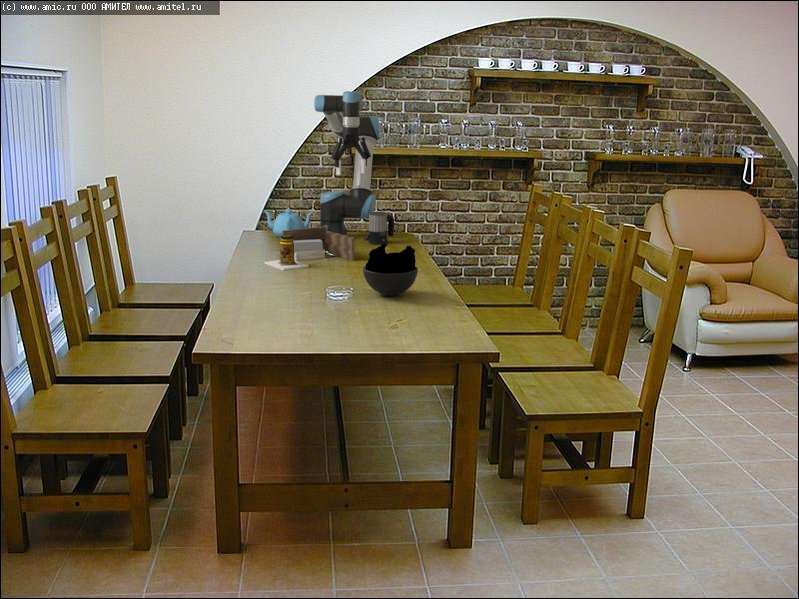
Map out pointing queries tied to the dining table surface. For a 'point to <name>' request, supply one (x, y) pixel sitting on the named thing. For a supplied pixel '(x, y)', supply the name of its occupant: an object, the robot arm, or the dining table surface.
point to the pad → (286, 267)
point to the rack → (326, 240)
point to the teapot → (287, 222)
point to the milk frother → (379, 228)
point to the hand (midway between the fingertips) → (351, 174)
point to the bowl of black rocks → (390, 270)
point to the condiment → (287, 250)
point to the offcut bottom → (309, 255)
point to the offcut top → (307, 245)
